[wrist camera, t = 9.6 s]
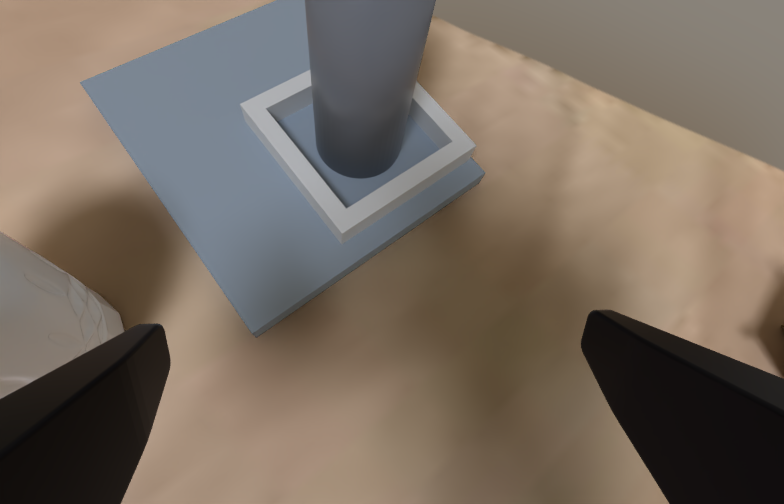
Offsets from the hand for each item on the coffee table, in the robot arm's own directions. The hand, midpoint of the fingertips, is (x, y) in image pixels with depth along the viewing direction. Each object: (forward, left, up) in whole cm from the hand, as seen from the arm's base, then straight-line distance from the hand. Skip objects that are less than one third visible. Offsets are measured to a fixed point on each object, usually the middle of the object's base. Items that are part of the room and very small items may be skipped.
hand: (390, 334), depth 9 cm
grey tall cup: (+11, -8, -12) cm, 18 cm away
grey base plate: (+14, -5, -13) cm, 20 cm away
